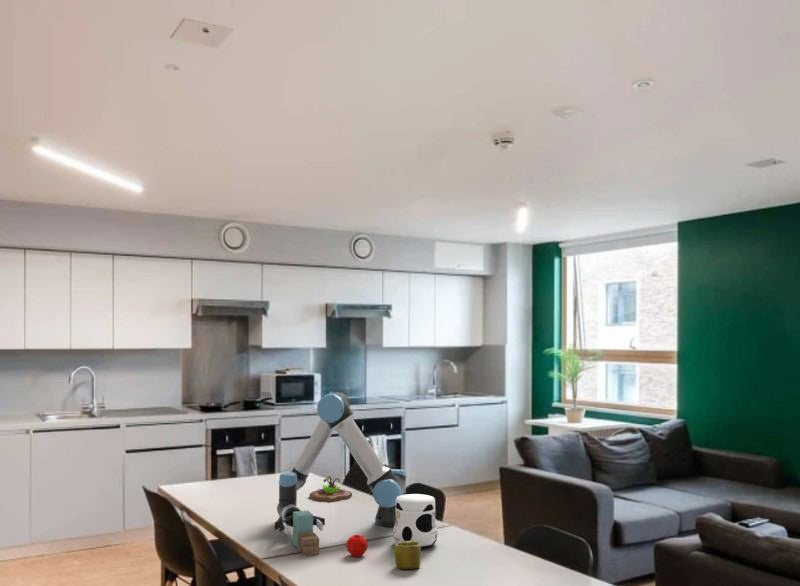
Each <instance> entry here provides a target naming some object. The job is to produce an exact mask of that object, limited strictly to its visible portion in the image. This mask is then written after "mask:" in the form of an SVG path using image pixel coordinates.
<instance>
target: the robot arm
mask: <svg viewBox="0 0 800 586" xmlns="http://www.w3.org/2000/svg"><path fill="white" fill-rule="evenodd" d="M350 403H351V402H350V398H349V397H348V396H347V394H345V393H343V392H341V391H333V392H329V393H327V394H325V395H323V396H322V397H321V398H320V399H319V401H318V403H317V406H316V410H317V411H316V412H317V415H318V417H319V419H320V420H319V421H318V423H317V425H316V426H315V428H314V430H313V432H312V434H311V436H310V437H309V439H308V441H307V443H306V445H305V446H304V448H303V450H302V451H301V453H300V455H299V457H298V459H297V461H296V462H295V464H294V466H293V468H292V470H291V471H287V472H281V473H280V474H279V477H278V478H279V479H278V504H277V507H276V511H277V514H278V516H279V517H278V519H277V520H276V521H275V522H274V527H273V529H274V530H279V532H283V533H284V534H285V535H289V527H290V528H293V512H296V511H302V510H301V509H300V508H299V507H298V506H297V505H298V504H297V502H298V501H297V497H298V492H297V491H298V490H301V488H303V487H304V485H305V484H306V482H307V480H308V479H307V478H309V474H310V473H311V471H312V469H314V466H315V464H316V462H317V461H318V459H319V457H320V455H321V454H322V452H323V450H324V449H325V447H326V445H327V443H328V441H329V440H330V437H331V436H332V433H333V432H337V434H338V436H339V437H340V439H341V440H342V442H343V443H344V445H345V446H346V447H347V449H348V451H349V453H350V454H351V456H352V457H353V458H354V459H355V461H356V463H357V465H358V466H359V468H360V469H361V470H362V471H363V473H364V475H365V476H366V478H367V483H366V484H367V486H368V487H369V489H370V490H371V492H372V496H373V500H374V501H375V503H376V504H377V505H378V507H377V510H376V515H375V518H374V519H375V520H374V522H375V523H374V524H376V525H378V526H382V527H387V528H388V527H389V528H394V525H395V521H396V498H397V497H398V496H401V495H406V494H407V492H406V491H407V489H406V488H407V486H406V485H407V484H406V482H407V481H406V480H407V472H406V470H405V469H398V468H397V469H396V468H395V469H394V468H393V469H392V468H391V467H386V466H385V465H384V464H383V462H382V461H381V458H380V457H379V456H378V455H377V453H376V451H375V450H374V449H373V447H372V445H371V444H370V443H369V441H368V440H367V438H366V436H365V434H364V433H363V432H362V431H361V429H360V427H359V426H358V425H357V423H356V422H355V420H354V417H355V416H354V415H355V414H354V412H353V410H352V409H351V406H350V405H351V404H350ZM325 520H326V519H325V518H324V517H322V516H321V517H320V516H318V515H313V526H316V528H317V529H319V531H323V528H324V526H326V521H325Z"/></svg>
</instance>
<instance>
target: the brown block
mask: <svg viewBox="0 0 800 586" xmlns="http://www.w3.org/2000/svg"><path fill="white" fill-rule="evenodd" d="M297 551H298V552H299V553H300V554H301V555H302V556H303V557H309V556H316V555H317V556H318V555H320V537H319V536H318V535H317V534H316V532H314V531H313V532H307V533H298V548H297Z"/></svg>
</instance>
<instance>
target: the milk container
mask: <svg viewBox="0 0 800 586" xmlns="http://www.w3.org/2000/svg"><path fill="white" fill-rule="evenodd" d="M392 532H393V534H392V536H393V540H394V542H395V544H396V543H399V542H406V541H410V542H418V543H420V545H421V549H424V548H428V547H432V546H433V545H435V544H436V542H437V539H438V534H439V533H438V527H437V524H436V499H435V497H434V496H431V495H428V494H421V493H410V494H407V493H406V495H401V496H398V497H397V498H396V521H395V525H394V527H393V530H392Z"/></svg>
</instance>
